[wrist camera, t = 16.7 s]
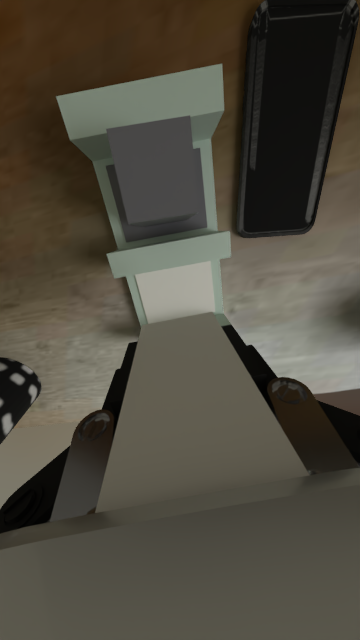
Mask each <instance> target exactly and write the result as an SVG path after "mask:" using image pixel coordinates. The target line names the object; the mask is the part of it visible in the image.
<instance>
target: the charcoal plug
mask: <svg viewBox="0 0 360 640" xmlns="http://www.w3.org/2000/svg"><path fill="white" fill-rule="evenodd" d="M106 131H107V135H108V140H109V144H110V148H111V153H112V157H113V161H114V165H115V170H116V174H117V178H118V182H119V187H120V191H121V195H122V200H123V204H124V208H125V212H126V217H127V221H128V224H132V225H136V226H141V227H148V226H154V225H160V224H167V223H173V222H179V221H185V220H187V219H189V218H191V217H192V216H194V215H195V214H197V213H199V210H198V199H197V187H196V176H195V164H194V153H193V141H192V130H191V118H190V115H189V116H183V117H177V118H170V119H164V120H158V121H152V122H146V123H139V124H133V125H127V126H121V127H115V128H108V129H106Z"/></svg>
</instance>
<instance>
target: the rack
mask: <svg viewBox="0 0 360 640" xmlns="http://www.w3.org/2000/svg"><path fill="white" fill-rule="evenodd" d="M56 98H57V101H58V104H59V107H60V111H61V114H62V117H63V120H64V123H65V126H66V129H67V132H68V136H69V139H70V141H71V142H72V143H73V144H75V145H76V146H77V147H78V148H79V149H80V150H81V151H82V152H83V153H84V154H85V155H86V156H87V157H88V158H89V159H90V160H91V161H92V162H93V165H94V169H95V172H96V175H97V179H98V182H99V186H100V189H101V193H102V196H103V199H104V203H105V206H106V210H107V213H108V217H109V220H110V223H111V227H112V230H113V234H114V237H115V241H116V244H117V247H118V250H116V251H113V252H110V253H107V257H108V260H109V263H110V267H111V270H112V273H113V276H114V278H120V277H125V276H126V278H127V282H128V285H129V288H130V292H131V295H132V299H133V302H134V306H135V309H136V312H137V316H138V319H139V323H140V326H141V327H142V325H145V324H151V323H156V322H161V321H166V320H171V319H176V318H182V317H187V316H192V315H197V314H202V313H207V312H213V314H214V315H215V317H216V319H217V321H218V322H219V324H220V326H225V325H231V324H230V322H229V321H228V319H227V318H226V316H225V315H224V312H223V298H222V285H221V271H220V259H223V258H229V257H231V243H230V231H218V230H217V216H216V202H215V188H214V175H213V161H212V147H211V137H212V135H213V133H214V131H215V129H216V127H217V125H218V123H219V120H220V118H221V116H222V114H223V112H224V93H223V72H222V64H218V65H213V66H208V67H202V68H197V69H192V70H187V71H182V72H177V73H172V74H167V75H162V76H157V77H152V78H147V79H142V80H137V81H132V82H127V83H122V84H117V85H111V86H106V87H101V88H96V89H91V90H86V91H81V92H76V93H71V94H66V95H61V96H56ZM189 115H190V118H191V130H192V141H193V153H194V164H195V176H196V187H197V199H198V210H199V213H197V214H195V215H194V216H192V217H191V218H189V219H187V220H185V221H179V222H173V223H167V224H160V225H154V226H148V227H141V226H136V225H132V224H128V221H127V217H126V212H125V208H124V204H123V200H122V195H121V191H120V187H119V182H118V178H117V174H116V170H115V165H114V161H113V157H112V153H111V148H110V144H109V140H108V135H107V131H106V129H108V128H115V127H121V126H127V125H133V124H139V123H146V122H152V121H158V120H164V119H170V118H177V117H183V116H189Z"/></svg>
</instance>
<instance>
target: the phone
mask: <svg viewBox="0 0 360 640" xmlns="http://www.w3.org/2000/svg"><path fill="white" fill-rule="evenodd" d="M358 19H359V8H358V5H357V2H356V1H355V0H265V1H264V2H262V3H261V4H260V5H259V7H258V8H257V10H256V12H255V15H254V17H253V20H252V22H251V25H250V27H249V32H248V42H247V53H246V72H245V84H244V91H245V92H244V97H243V125H242V142H241V159H240V176H239V193H238V209H237V226H236V227H237V232H238V234H239V235H240V236H241V237H243V238H257V237H271V236H285V235H299V234H305V233H306V232H308V231H309V230H310V229H311V228H312V226H313V225H314V222H315V218H316V214H317V209H318V204H319V200H320V195H321V191H322V186H323V181H324V177H325V172H326V168H327V163H328V158H329V154H330V149H331V145H332V140H333V135H334V131H335V126H336V122H337V117H338V113H339V108H340V103H341V99H342V94H343V90H344V85H345V80H346V76H347V71H348V67H349V62H350V57H351V53H352V48H353V44H354V39H355V34H356V30H357V25H358Z"/></svg>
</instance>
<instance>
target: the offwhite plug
mask: <svg viewBox="0 0 360 640" xmlns="http://www.w3.org/2000/svg"><path fill="white" fill-rule="evenodd" d="M308 475H309V473H308V471H307V470H306V468H305V466H304V465H303V463H302V461H301V460H300V458H299V456H298V455H297V453H296V451H295V450H294V448H293V446H292V445H291V443H290V441H289V440H288V438H287V436H286V435H285V433H284V431H283V430H282V428H281V426H280V425H279V423H278V421H277V419H276V418H275V416H274V414H273V413H272V411H271V409H270V408H269V406H268V404H267V403H266V401H265V399H264V398H263V396H262V394H261V393H260V391H259V389H258V388H257V386H256V384H255V383H254V381H253V379H252V378H251V376H250V374H249V373H248V371H247V369H246V367H245V366H244V364H243V362H242V361H241V359H240V357H239V356H238V354H237V352H236V351H235V349H234V347H233V346H232V344H231V342H230V341H229V339H228V337H227V336H226V334H225V332H224V331H223V329H222V327H221V326H220V324H219V322H218V321H217V319H216V317H215V315H214V314H213V312H207V313H202V314H197V315H192V316H187V317H182V318H176V319H171V320H166V321H161V322H156V323H151V324H145V325H142V327H141V331H140V335H139V339H138V343H137V347H136V351H135V355H134V359H133V363H132V367H131V371H130V375H129V379H128V383H127V387H126V391H125V395H124V399H123V403H122V407H121V411H120V415H119V419H118V423H117V427H116V431H115V435H114V439H113V443H112V447H111V451H110V455H109V459H108V463H107V467H106V471H105V475H104V479H103V483H102V487H101V491H100V495H99V499H98V503H97V507H96V511H95V513H99V512H105V511H110V510H116V509H121V508H127V507H132V506H138V505H143V504H148V503H154V502H160V501H165V500H171V499H176V498H182V497H188V496H193V495H199V494H205V493H210V492H216V491H222V490H227V489H233V488H239V487H244V486H250V485H256V484H262V483H268V482H273V481H279V480H285V479H291V478H297V477H303V476H308Z"/></svg>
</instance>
